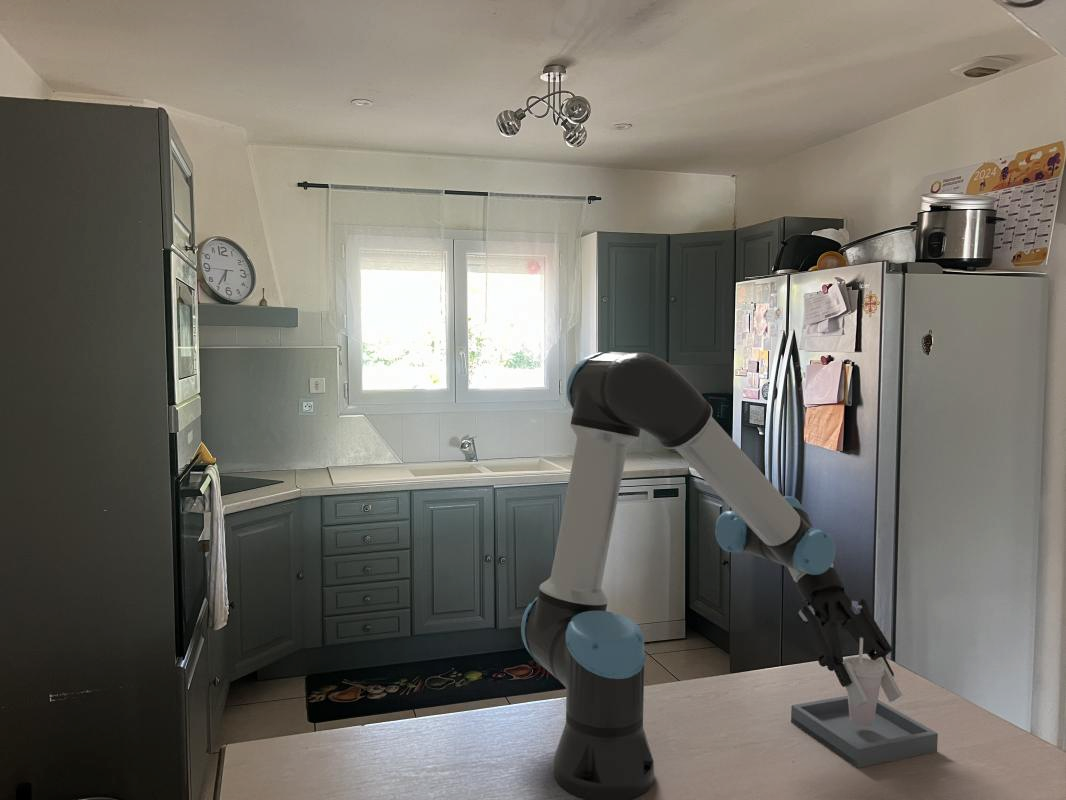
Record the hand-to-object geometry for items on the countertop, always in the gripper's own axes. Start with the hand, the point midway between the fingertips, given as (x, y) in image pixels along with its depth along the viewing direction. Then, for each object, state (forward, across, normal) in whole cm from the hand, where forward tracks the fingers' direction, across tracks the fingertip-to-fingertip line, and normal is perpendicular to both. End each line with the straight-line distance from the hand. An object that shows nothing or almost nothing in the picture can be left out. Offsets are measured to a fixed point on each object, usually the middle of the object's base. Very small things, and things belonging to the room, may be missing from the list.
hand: (878, 701), depth 129 cm
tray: (+3, 0, -8) cm, 8 cm away
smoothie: (+1, 0, -6) cm, 6 cm away
